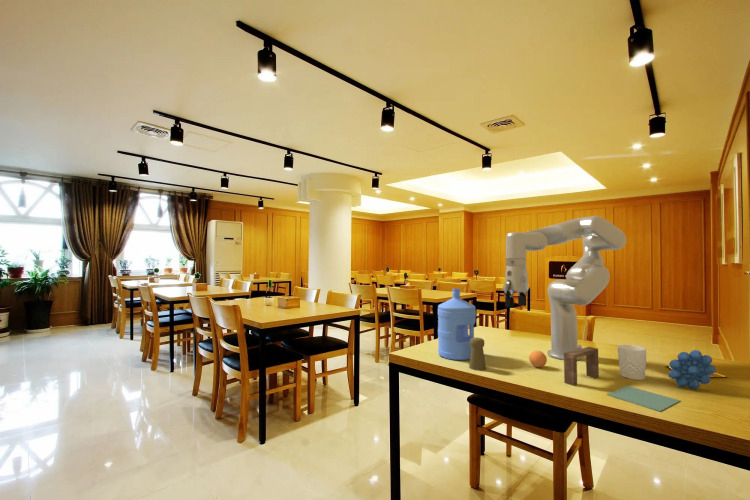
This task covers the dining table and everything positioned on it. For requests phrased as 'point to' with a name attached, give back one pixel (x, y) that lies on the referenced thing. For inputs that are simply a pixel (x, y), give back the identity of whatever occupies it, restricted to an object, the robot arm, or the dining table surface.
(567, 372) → the bridge
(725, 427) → the dining table surface
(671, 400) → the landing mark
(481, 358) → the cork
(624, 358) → the white cup
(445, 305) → the water jug
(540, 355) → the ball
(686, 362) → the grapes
